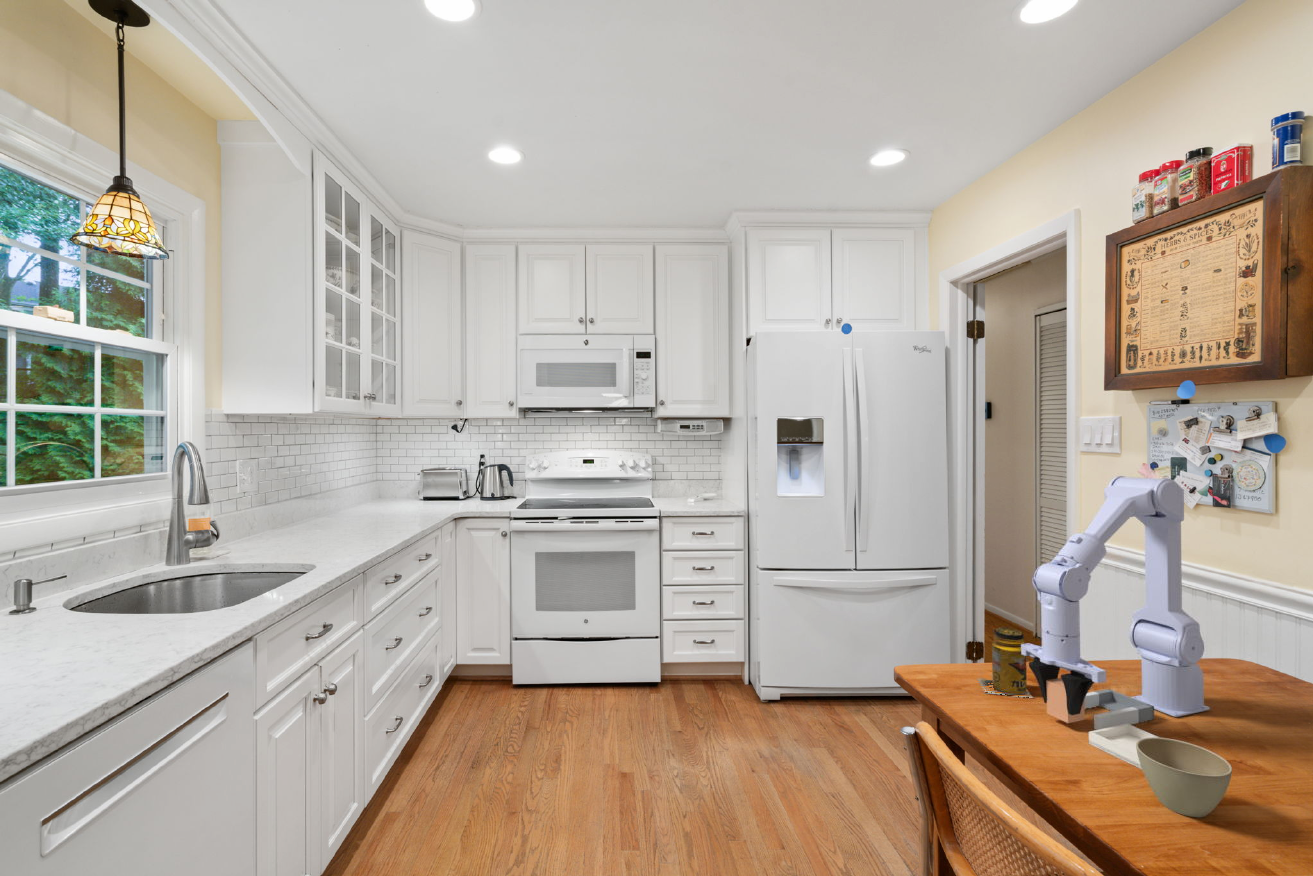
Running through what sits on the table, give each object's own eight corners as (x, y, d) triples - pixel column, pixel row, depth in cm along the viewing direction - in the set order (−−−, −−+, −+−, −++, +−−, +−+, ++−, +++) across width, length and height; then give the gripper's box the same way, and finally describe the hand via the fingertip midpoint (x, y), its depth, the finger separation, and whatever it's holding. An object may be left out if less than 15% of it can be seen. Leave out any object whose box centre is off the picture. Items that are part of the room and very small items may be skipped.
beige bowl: (1118, 787, 87) (1117, 739, 87) (1181, 784, 88) (1180, 735, 88) (1184, 832, 77) (1183, 777, 77) (1254, 827, 78) (1253, 772, 78)
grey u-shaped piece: (1109, 701, 116) (1108, 688, 116) (1154, 719, 108) (1154, 706, 108) (1093, 704, 114) (1093, 691, 114) (1138, 722, 107) (1138, 709, 107)
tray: (1127, 735, 102) (1127, 723, 102) (1187, 761, 94) (1187, 749, 94) (1088, 743, 100) (1088, 731, 100) (1147, 772, 91) (1147, 759, 91)
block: (1063, 710, 109) (1062, 677, 109) (1084, 719, 106) (1084, 685, 106) (1046, 713, 108) (1046, 680, 108) (1067, 723, 104) (1067, 689, 104)
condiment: (1033, 699, 117) (1032, 638, 117) (985, 694, 120) (984, 634, 120) (1022, 684, 124) (1021, 626, 124) (977, 680, 127) (976, 623, 127)
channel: (1093, 704, 114) (1093, 691, 114) (1138, 722, 107) (1138, 709, 107) (1056, 711, 112) (1056, 698, 112) (1099, 731, 104) (1099, 717, 104)
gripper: (1008, 622, 112) (1009, 694, 112) (1083, 648, 99) (1085, 730, 99) (1036, 618, 115) (1037, 689, 114) (1114, 643, 101) (1116, 723, 101)
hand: (1061, 708), depth 107 cm, fingers closed on block, 4 cm apart
